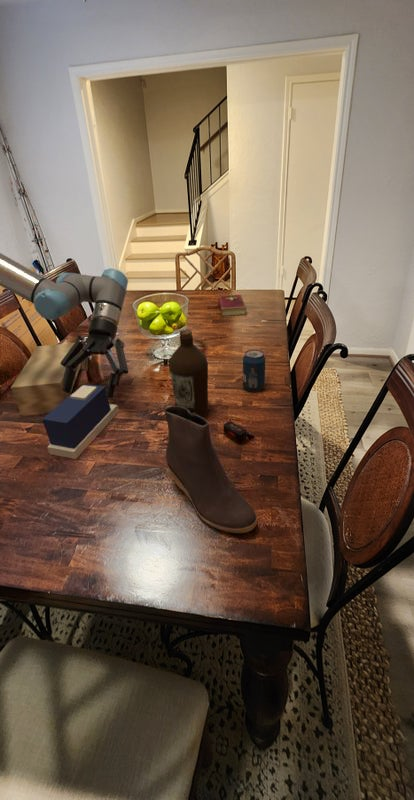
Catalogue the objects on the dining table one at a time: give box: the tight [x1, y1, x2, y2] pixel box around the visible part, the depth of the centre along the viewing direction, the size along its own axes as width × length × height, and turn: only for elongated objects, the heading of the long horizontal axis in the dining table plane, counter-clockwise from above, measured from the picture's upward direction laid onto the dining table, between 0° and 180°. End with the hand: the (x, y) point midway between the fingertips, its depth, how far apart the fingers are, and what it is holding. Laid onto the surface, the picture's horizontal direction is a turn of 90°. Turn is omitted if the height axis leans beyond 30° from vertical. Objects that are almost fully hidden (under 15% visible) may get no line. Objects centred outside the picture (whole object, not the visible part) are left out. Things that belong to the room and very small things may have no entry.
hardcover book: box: [218, 294, 247, 317], centre depth 186 cm, size 12×21×4 cm, turn 2°
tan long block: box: [10, 342, 84, 417], centre depth 122 cm, size 14×30×10 cm, turn 8°
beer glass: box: [81, 336, 106, 386], centre depth 125 cm, size 7×7×15 cm
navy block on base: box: [41, 383, 120, 460], centre depth 100 cm, size 22×8×11 cm, turn 163°
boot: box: [163, 405, 258, 534], centre depth 74 cm, size 9×24×20 cm, turn 45°
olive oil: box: [168, 328, 209, 418], centre depth 103 cm, size 11×11×25 cm
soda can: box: [242, 349, 266, 393], centre depth 116 cm, size 7×7×12 cm
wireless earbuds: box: [223, 421, 255, 445], centre depth 97 cm, size 5×7×3 cm, turn 43°
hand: (87, 394), depth 101 cm, fingers open, 13 cm apart
